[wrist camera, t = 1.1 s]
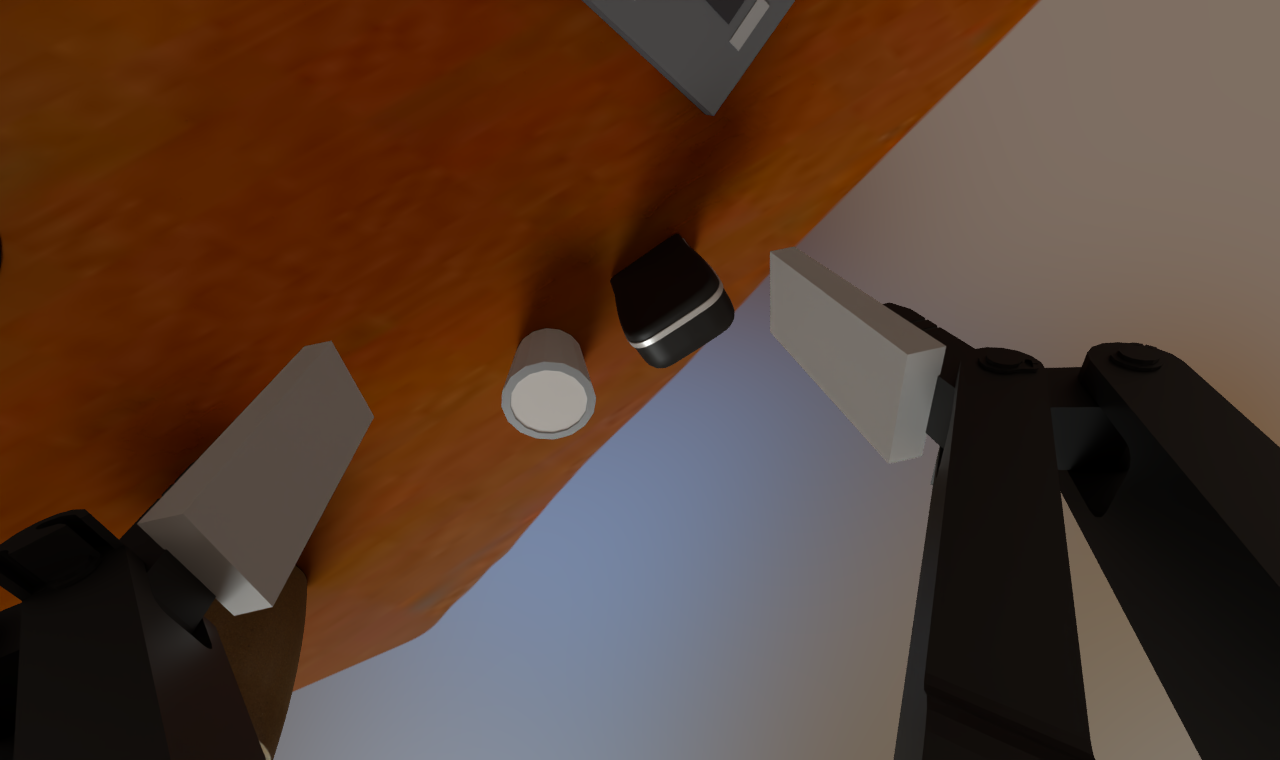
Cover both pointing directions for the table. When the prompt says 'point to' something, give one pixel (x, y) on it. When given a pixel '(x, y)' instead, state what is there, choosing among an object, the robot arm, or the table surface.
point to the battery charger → (671, 303)
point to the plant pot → (265, 655)
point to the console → (696, 39)
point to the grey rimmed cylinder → (548, 386)
